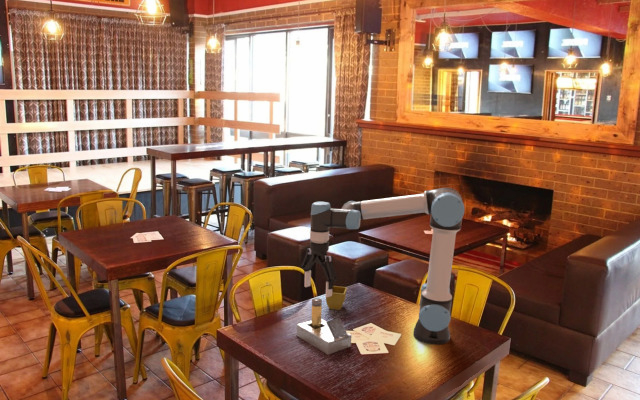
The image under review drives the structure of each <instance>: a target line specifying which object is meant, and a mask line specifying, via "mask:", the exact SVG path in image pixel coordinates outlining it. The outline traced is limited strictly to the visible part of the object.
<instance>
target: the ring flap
mask: <svg viewBox="0 0 640 400" xmlns="http://www.w3.org/2000/svg"><path fill="white" fill-rule="evenodd" d="M326 323H327V325H328V327H329V329H330V331H331V333H332V335H333V338H334V342H338V341H341V340H344V339H347V338H349V335H348V334H347V333H348V332H347V331H346V328H345V326H344V324H343V322H342V320H341V318H340V317H337V318H334V319H331V320H328V321H327V322H326Z"/></svg>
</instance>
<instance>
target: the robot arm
mask: <svg viewBox="0 0 640 400" xmlns="http://www.w3.org/2000/svg"><path fill="white" fill-rule="evenodd" d="M463 201H464V200H463V198H462V195H461V193H459V191H458V190H456V189H455V188H453V187H441V188H435V189H429V190H424V192H422V193H417V194H411V195H409V194H408V195H402V196H401V195H400V196H392V197H385V198H377V199H370V200H368V199H367V200H362V201H354V200H349V201H347V202H345V203H344V204H343V205H342V207H341V208H334V207H331V203H330V202H328V201H327V202H326V201H315V202H313V203H312V204H311V207H310V208H311V209H310V231H309V233H310V236H309V239H310V242H309V248H306V249H305V254H304V257H303V259H302V262H301V265H300V269H303V271H304V272H303V277H304V278H303V279H304V287H305V288H308V287H311V283H312V280H311V279H312V270H311V269H312V268H313V266H314V265H315V264H317V265H319V266H320V267H321V269H322V271H323V273H324V275H325V277H326V281H325V298H326V297H330V296H332V289H333V286H334V282H336V281H338V276H337V273H336V269H335V264H334V261H333V258H334V257H333V255H328V252H329V249H330V242H329V240H330V228H335V229H347V230H358V229H359V228H360V227H361V222H362V221H361V220H370V219H379V218H387V217H397V216H404V215H412V214H421V213H423V214H424V213H425V214H427V215H430V219H429V227H430V228H431V229H432V238H431V246H430V252H429V253H430V254H429V263H428V272H427V279H426V281H427V282H426V283H423V284H422V285H421V289H420V299H419V311H418V312H419V313H418V318H417V321H416V323H415V325H414V328H413V334H412V335H413V337H414V339H416V340H417V341H418V342H420V343H424V344H426V345H432V346H433V345H434V346H435V345H445V344H447V343H449V341H450V340H451V332H450V328H449V324H450V322H451V319H452V317H451V309H452V300H453V295H452V294H451V289H450V285H451V284H450V283H451V275H452V268H453V267H452V266H453V263H454V262H453V259H454V253H455V246H456V245H455V244H456V239H457V238H456V237H457V233H458V232H460V231H461V229H462V222H463V217H464V215H465V204H464V202H463Z"/></svg>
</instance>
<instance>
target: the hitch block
mask: <svg viewBox="0 0 640 400" xmlns="http://www.w3.org/2000/svg"><path fill="white" fill-rule="evenodd" d="M326 322H328V321H326V320H325V319H323V318H321V328H318V329H314V328H312V327H311V319H310V320H308V321H304V322H301V323H298V324H296V337H298V338H300V339H302V340H303V341H305V342H307V343H308V344H310V345H311V346H313V347H315V348H316V349H318V350H319V351H321V352H323V353H324V354H326V355H331V354H333V353H337V352H339V351H342V350H345V349H348V348H351V346H352V337H353V336H352V334H351V333H349V332H347V334H348V335H349V338H347V339H344V340H341V341H338V342H334V338H333V335H332V333H331V331H330V329H329V327H328V325H327V323H326Z"/></svg>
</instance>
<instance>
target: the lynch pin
mask: <svg viewBox="0 0 640 400" xmlns="http://www.w3.org/2000/svg"><path fill="white" fill-rule="evenodd" d="M322 301H323V299H322V298H319V297H315V298H314V297H313V298H312V299H311V319H310V320H311V327H312V328H314V329H318V328H321V319H322V310H323V309H322V308H323V307H322V306H323V304H322V303H323V302H322Z"/></svg>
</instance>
